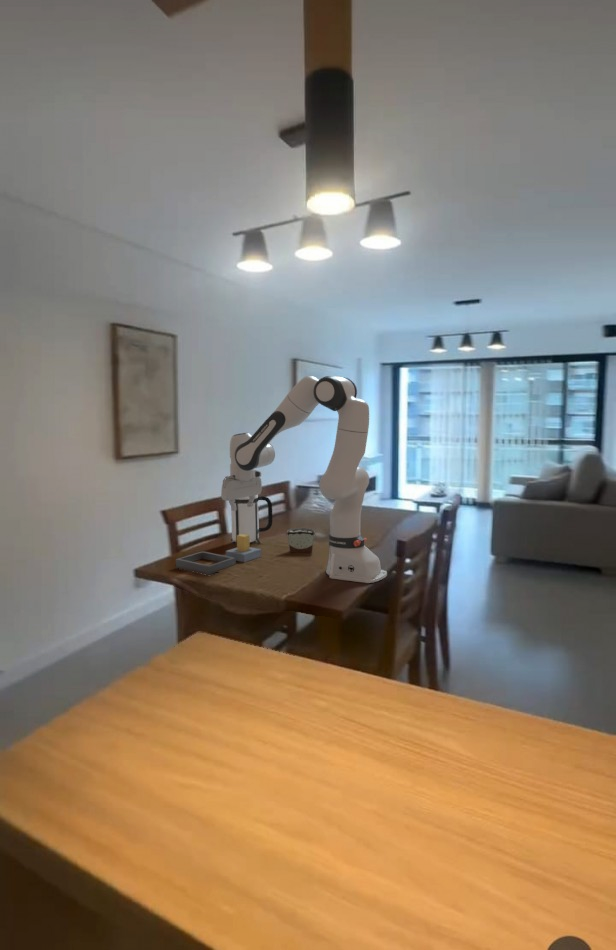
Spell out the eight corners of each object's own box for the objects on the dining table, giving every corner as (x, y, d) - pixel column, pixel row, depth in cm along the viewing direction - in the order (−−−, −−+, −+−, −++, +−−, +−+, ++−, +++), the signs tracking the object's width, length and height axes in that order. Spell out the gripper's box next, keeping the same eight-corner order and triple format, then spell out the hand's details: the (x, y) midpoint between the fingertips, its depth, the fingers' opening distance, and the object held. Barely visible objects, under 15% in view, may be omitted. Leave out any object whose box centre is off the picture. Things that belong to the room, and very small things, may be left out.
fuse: (249, 557, 221) (249, 535, 220) (244, 558, 219) (244, 536, 218) (242, 555, 223) (241, 534, 222) (237, 557, 221) (236, 535, 220)
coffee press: (250, 549, 237) (248, 480, 234) (222, 544, 246) (220, 478, 242) (273, 540, 252) (272, 476, 248) (246, 536, 260) (244, 474, 257)
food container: (316, 550, 234) (316, 527, 233) (315, 554, 228) (315, 531, 227) (288, 550, 235) (287, 527, 234) (286, 554, 229) (285, 530, 228)
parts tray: (235, 566, 212) (235, 557, 211) (209, 576, 200) (209, 566, 200) (202, 559, 222) (202, 551, 221) (176, 568, 211) (175, 559, 210)
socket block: (261, 558, 222) (261, 549, 222) (244, 564, 214) (244, 554, 214) (242, 555, 228) (242, 545, 228) (225, 560, 220) (225, 551, 219)
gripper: (229, 477, 207) (230, 513, 208) (264, 472, 223) (264, 505, 225) (217, 476, 210) (218, 511, 212) (252, 471, 227) (252, 503, 229)
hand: (242, 508), depth 219 cm, fingers open, 8 cm apart
